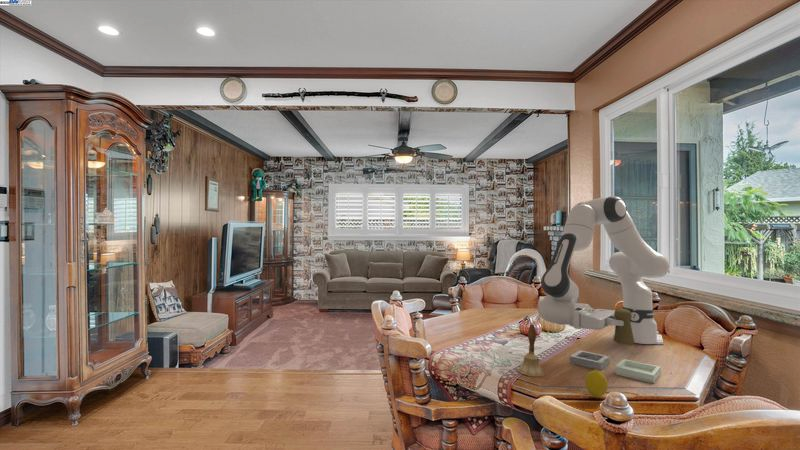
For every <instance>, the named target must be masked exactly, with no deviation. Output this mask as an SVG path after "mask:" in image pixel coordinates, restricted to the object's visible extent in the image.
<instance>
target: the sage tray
mask: <svg viewBox="0 0 800 450" xmlns="http://www.w3.org/2000/svg"><path fill="white" fill-rule="evenodd" d="M661 368H662V367H661V366H659V365H654V364H649V363H644V362H640V361H636V360H630V359H626V358H622V360H621V361H619V362H618V363H617V364H616V365H615V366H614V375H617V376H621V377H625V378H630V379H633V380H638V381H643V382H646V383H650V384H655V383H656V382H657V380H658V379H659V377H660V376H661V375H662V374H661V373H662V371H661V370H662V369H661Z"/></svg>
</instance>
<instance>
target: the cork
mask: <svg viewBox="0 0 800 450" xmlns="http://www.w3.org/2000/svg"><path fill="white" fill-rule="evenodd" d="M614 316H615V318H616V320H624V325H623V326H618V325H616V326H615V328H614V333H615V336H614V335H613V341H614V342H615V343H617V344H621V345H626V346H627V345H633V344H635V343H634V338H633V332H632V327H631V322H630V319H631V317H632V314H631V312H630V311H629V310H626V309H622V308H617V309H615V312H614Z"/></svg>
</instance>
